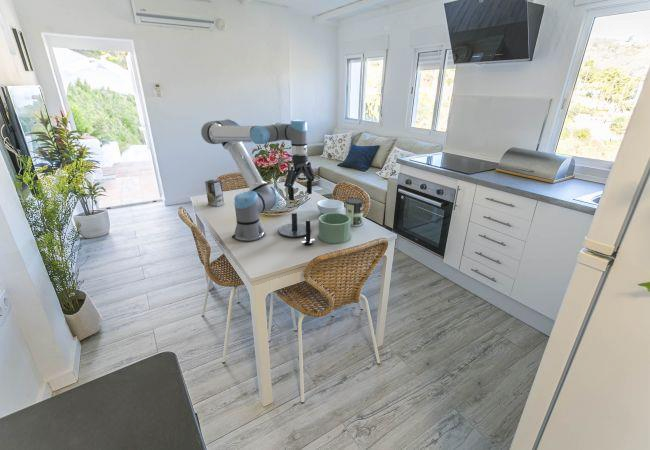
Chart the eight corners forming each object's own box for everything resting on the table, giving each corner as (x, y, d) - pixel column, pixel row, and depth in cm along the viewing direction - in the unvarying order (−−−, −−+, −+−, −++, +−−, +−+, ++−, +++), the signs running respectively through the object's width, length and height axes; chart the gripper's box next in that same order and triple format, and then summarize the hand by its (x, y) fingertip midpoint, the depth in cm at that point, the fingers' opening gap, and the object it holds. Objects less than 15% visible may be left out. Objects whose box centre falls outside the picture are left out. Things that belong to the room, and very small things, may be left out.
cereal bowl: (342, 219, 191) (342, 208, 188) (315, 217, 193) (315, 206, 190) (344, 209, 206) (345, 199, 204) (319, 208, 209) (319, 198, 206)
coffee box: (224, 204, 214) (221, 181, 208) (217, 206, 209) (213, 183, 203) (215, 201, 219) (212, 179, 212) (207, 204, 214) (204, 181, 207)
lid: (284, 240, 163) (284, 220, 159) (274, 228, 178) (273, 209, 174) (315, 234, 170) (315, 215, 166) (303, 223, 185) (303, 205, 181)
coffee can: (362, 220, 190) (364, 198, 184) (361, 227, 181) (362, 204, 175) (346, 219, 192) (346, 197, 186) (343, 225, 182) (344, 202, 177)
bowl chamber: (327, 245, 158) (327, 226, 154) (313, 233, 172) (313, 215, 168) (355, 239, 165) (356, 221, 161) (340, 228, 179) (341, 211, 175)
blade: (304, 247, 156) (303, 223, 151) (299, 242, 162) (298, 218, 157) (317, 245, 159) (317, 221, 154) (311, 239, 165) (311, 216, 160)
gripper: (287, 159, 139) (289, 204, 147) (321, 151, 157) (321, 192, 165) (275, 157, 143) (277, 201, 151) (310, 149, 161) (310, 189, 169)
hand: (300, 196), depth 158 cm, fingers open, 13 cm apart
